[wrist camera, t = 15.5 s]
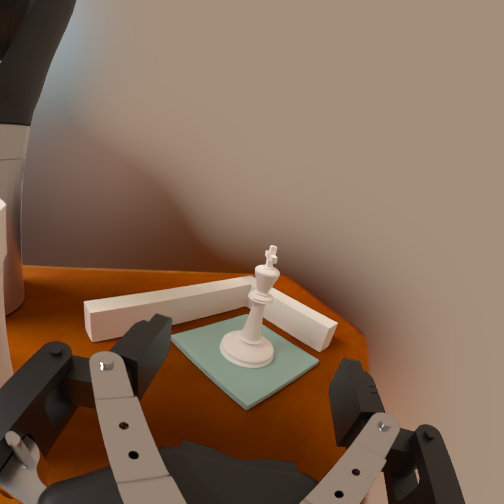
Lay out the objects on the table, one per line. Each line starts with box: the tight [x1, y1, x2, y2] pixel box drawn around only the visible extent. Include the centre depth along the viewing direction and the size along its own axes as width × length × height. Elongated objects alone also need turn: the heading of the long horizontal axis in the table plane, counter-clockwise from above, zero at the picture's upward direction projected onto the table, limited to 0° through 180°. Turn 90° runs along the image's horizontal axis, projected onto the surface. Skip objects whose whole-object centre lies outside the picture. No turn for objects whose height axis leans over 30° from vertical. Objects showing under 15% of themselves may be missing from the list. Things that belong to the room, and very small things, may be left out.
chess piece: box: [220, 246, 280, 368], centre depth 23 cm, size 5×5×10 cm
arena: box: [84, 276, 338, 410], centre depth 25 cm, size 14×21×3 cm, turn 136°
